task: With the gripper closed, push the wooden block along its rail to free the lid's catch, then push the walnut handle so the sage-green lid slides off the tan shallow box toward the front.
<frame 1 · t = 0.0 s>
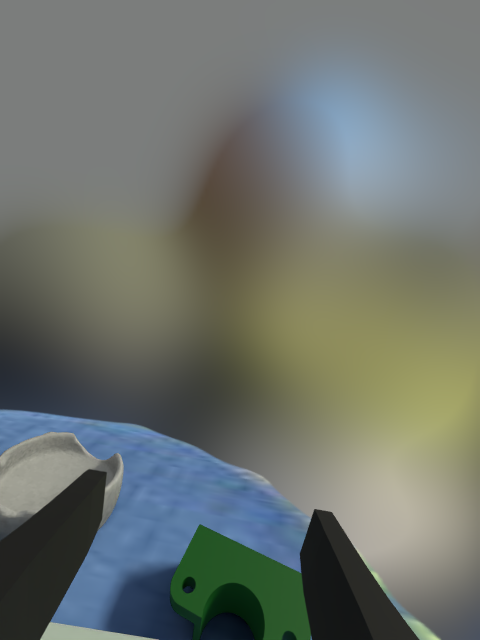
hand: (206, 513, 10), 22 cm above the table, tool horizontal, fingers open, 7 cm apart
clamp: (233, 631, 26), on the table
dish: (53, 508, 34), on the table
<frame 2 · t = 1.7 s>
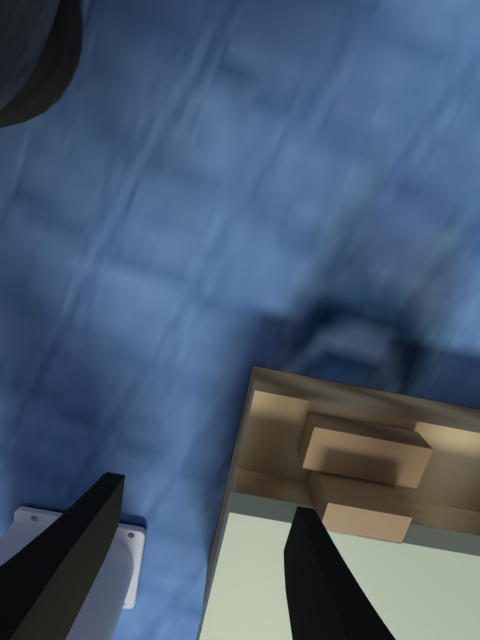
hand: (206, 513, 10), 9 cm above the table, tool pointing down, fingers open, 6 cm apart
pitcher: (18, 54, 15), on the table
tan shallow box: (329, 523, 22), on the table
lid: (362, 612, 16), point 6 cm above the table, slide at 0.0 cm
wooden block: (361, 449, 16), point 4 cm above the table, slide at 0.0 cm
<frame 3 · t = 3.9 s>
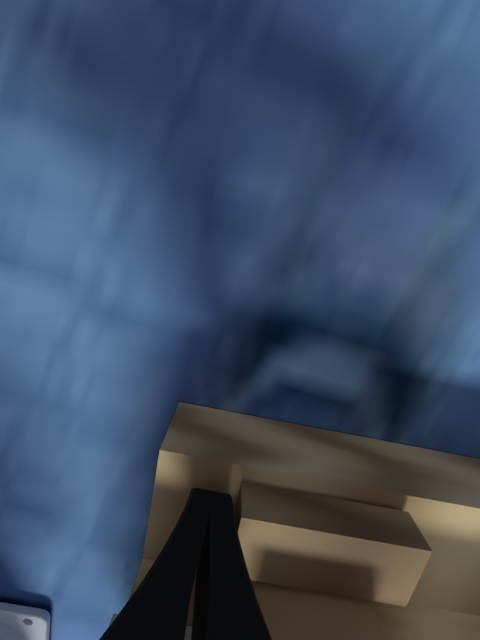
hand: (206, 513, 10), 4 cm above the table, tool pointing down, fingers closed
tan shallow box: (293, 605, 17), on the table
wooden block: (321, 542, 10), point 4 cm above the table, slide at 0.0 cm, touching gripper
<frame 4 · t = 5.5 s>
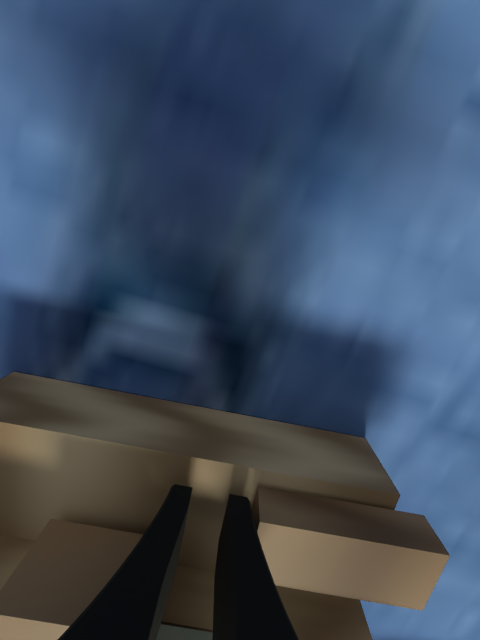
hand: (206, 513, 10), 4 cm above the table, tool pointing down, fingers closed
tan shallow box: (160, 583, 16), on the table
wooden block: (338, 546, 10), point 4 cm above the table, slide at 7.9 cm, touching gripper
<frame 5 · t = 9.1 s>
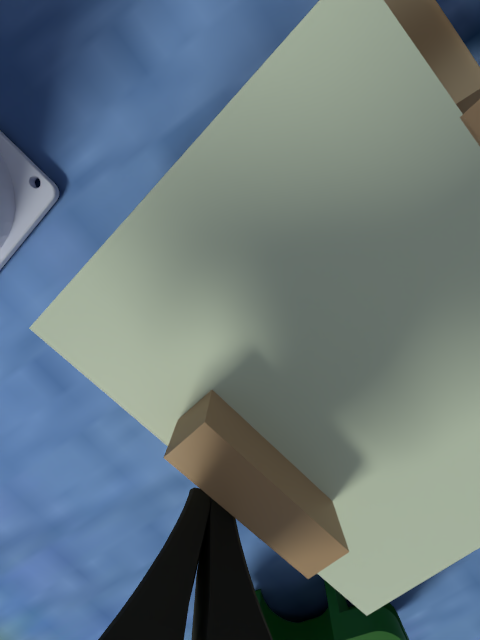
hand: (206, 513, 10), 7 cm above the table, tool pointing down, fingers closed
tan shallow box: (297, 340, 16), on the table
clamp: (304, 598, 21), on the table
lid: (375, 357, 10), point 6 cm above the table, slide at 1.3 cm, touching gripper
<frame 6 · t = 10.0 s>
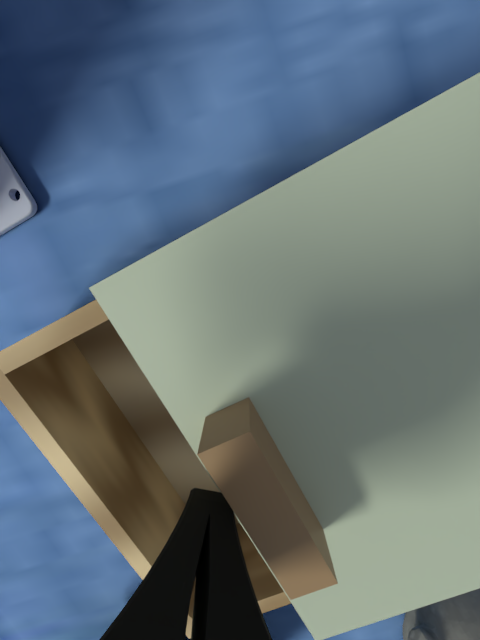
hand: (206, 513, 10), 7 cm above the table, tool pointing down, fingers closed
tan shallow box: (227, 403, 17), on the table
lid: (405, 407, 10), point 6 cm above the table, slide at 6.5 cm, touching gripper
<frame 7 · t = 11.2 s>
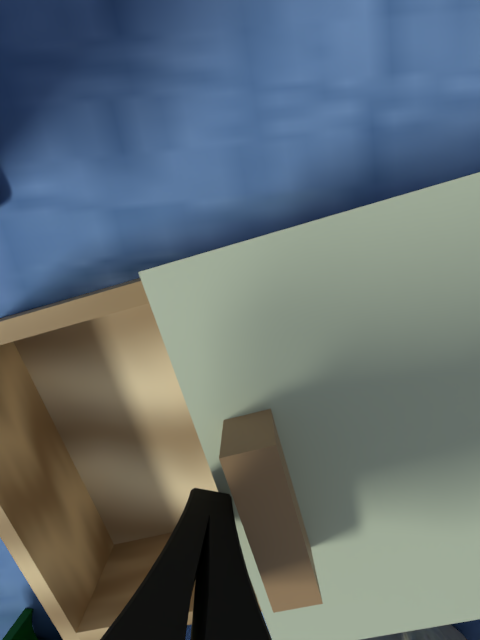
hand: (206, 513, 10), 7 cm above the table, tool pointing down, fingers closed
tan shallow box: (155, 422, 17), on the table
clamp: (70, 629, 22), on the table
lid: (413, 444, 11), point 6 cm above the table, slide at 10.7 cm, touching gripper
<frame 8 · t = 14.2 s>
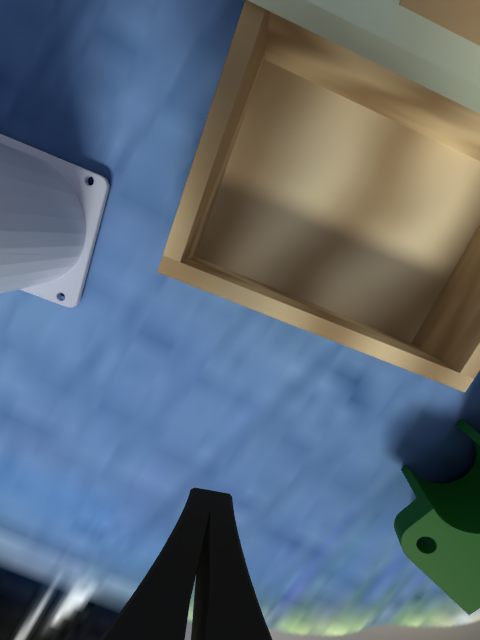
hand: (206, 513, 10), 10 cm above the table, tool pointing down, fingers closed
tan shallow box: (342, 217, 18), on the table
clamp: (450, 461, 22), on the table
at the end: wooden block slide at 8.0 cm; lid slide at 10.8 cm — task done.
